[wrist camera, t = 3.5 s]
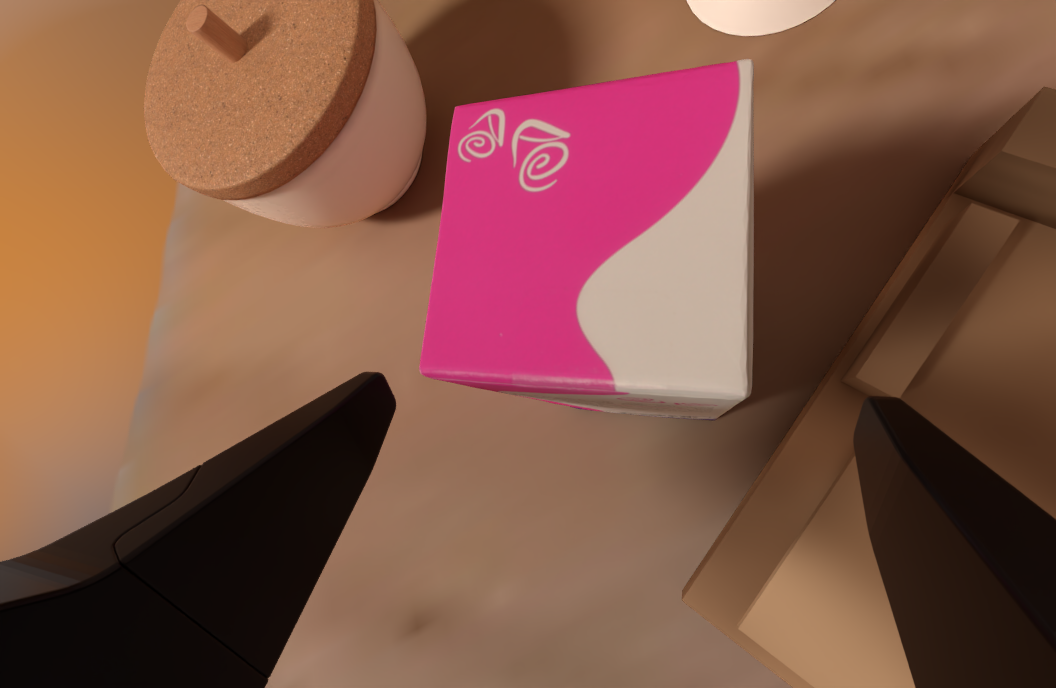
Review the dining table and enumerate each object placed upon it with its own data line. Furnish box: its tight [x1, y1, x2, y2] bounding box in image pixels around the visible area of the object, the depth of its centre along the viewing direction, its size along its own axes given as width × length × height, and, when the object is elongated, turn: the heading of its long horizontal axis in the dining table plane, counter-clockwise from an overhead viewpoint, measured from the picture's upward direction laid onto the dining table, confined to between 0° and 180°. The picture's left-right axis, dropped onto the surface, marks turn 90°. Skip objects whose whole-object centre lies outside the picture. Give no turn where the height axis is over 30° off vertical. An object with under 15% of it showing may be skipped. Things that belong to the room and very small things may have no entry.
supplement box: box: [419, 59, 754, 420], centre depth 13 cm, size 6×6×12 cm
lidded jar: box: [144, 0, 427, 228], centre depth 20 cm, size 11×11×9 cm
